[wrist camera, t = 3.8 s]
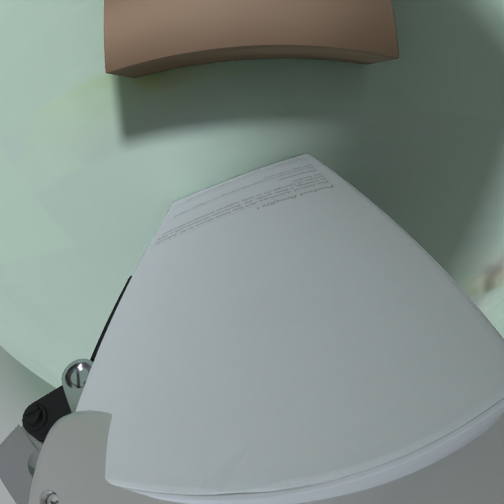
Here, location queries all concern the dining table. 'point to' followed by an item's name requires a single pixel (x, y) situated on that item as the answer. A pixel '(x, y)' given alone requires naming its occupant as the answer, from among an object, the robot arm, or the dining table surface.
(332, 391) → the supplement box
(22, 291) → the dining table surface
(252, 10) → the walnut base
